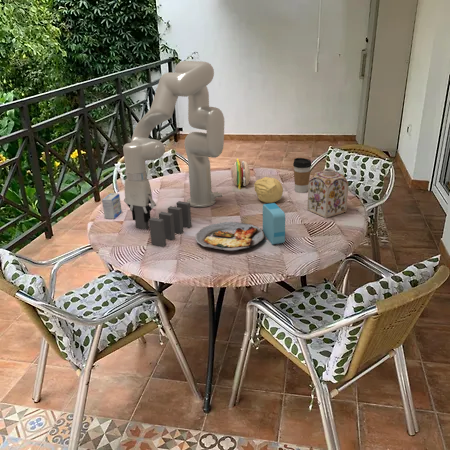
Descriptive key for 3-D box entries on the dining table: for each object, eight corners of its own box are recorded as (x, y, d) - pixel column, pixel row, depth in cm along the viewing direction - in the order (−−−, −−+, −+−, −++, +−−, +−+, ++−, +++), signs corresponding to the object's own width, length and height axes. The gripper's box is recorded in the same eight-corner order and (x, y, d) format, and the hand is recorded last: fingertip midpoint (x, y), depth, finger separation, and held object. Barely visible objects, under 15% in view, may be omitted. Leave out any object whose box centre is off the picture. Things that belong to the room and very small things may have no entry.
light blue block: (285, 244, 161) (285, 213, 156) (273, 246, 160) (273, 214, 155) (273, 231, 172) (274, 201, 167) (262, 232, 171) (262, 203, 166)
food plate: (273, 231, 171) (272, 223, 169) (250, 259, 152) (250, 250, 150) (213, 224, 181) (213, 216, 179) (185, 249, 162) (184, 240, 160)
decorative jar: (347, 212, 186) (350, 170, 179) (326, 219, 181) (328, 175, 173) (326, 204, 196) (329, 163, 188) (306, 210, 190) (308, 168, 183)
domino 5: (180, 224, 180) (179, 201, 176) (191, 226, 178) (190, 202, 174) (178, 226, 179) (176, 202, 175) (189, 228, 176) (187, 204, 172)
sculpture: (250, 200, 203) (250, 177, 198) (270, 194, 209) (270, 171, 205) (268, 207, 194) (268, 183, 190) (287, 200, 201) (288, 177, 197)
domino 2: (154, 242, 166) (152, 217, 162) (166, 244, 164) (163, 219, 160) (151, 244, 164) (148, 219, 160) (162, 247, 162) (160, 221, 158)
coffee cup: (297, 186, 218) (298, 156, 212) (313, 189, 213) (315, 158, 207) (289, 191, 212) (289, 160, 206) (305, 194, 207) (306, 163, 201)
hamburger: (251, 188, 217) (251, 164, 213) (234, 189, 217) (233, 165, 212) (249, 181, 228) (248, 158, 224) (232, 181, 228) (232, 158, 223)
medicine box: (114, 219, 188) (111, 199, 184) (104, 218, 188) (101, 199, 185) (122, 212, 195) (119, 193, 191) (112, 211, 196) (109, 192, 192)
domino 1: (139, 225, 180) (136, 202, 176) (149, 227, 178) (146, 204, 174) (136, 227, 179) (133, 204, 175) (146, 229, 177) (143, 205, 173)
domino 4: (172, 230, 175) (170, 206, 171) (183, 232, 173) (181, 208, 169) (169, 232, 174) (167, 208, 170) (180, 234, 172) (178, 209, 168)
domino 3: (163, 236, 171) (161, 211, 167) (175, 238, 168) (172, 213, 164) (160, 238, 169) (158, 213, 165) (172, 240, 167) (169, 215, 163)
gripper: (112, 176, 170) (118, 220, 178) (149, 181, 163) (153, 227, 170) (125, 170, 177) (130, 213, 184) (161, 175, 169) (165, 220, 177)
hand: (141, 219), depth 177 cm, fingers closed on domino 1, 4 cm apart
